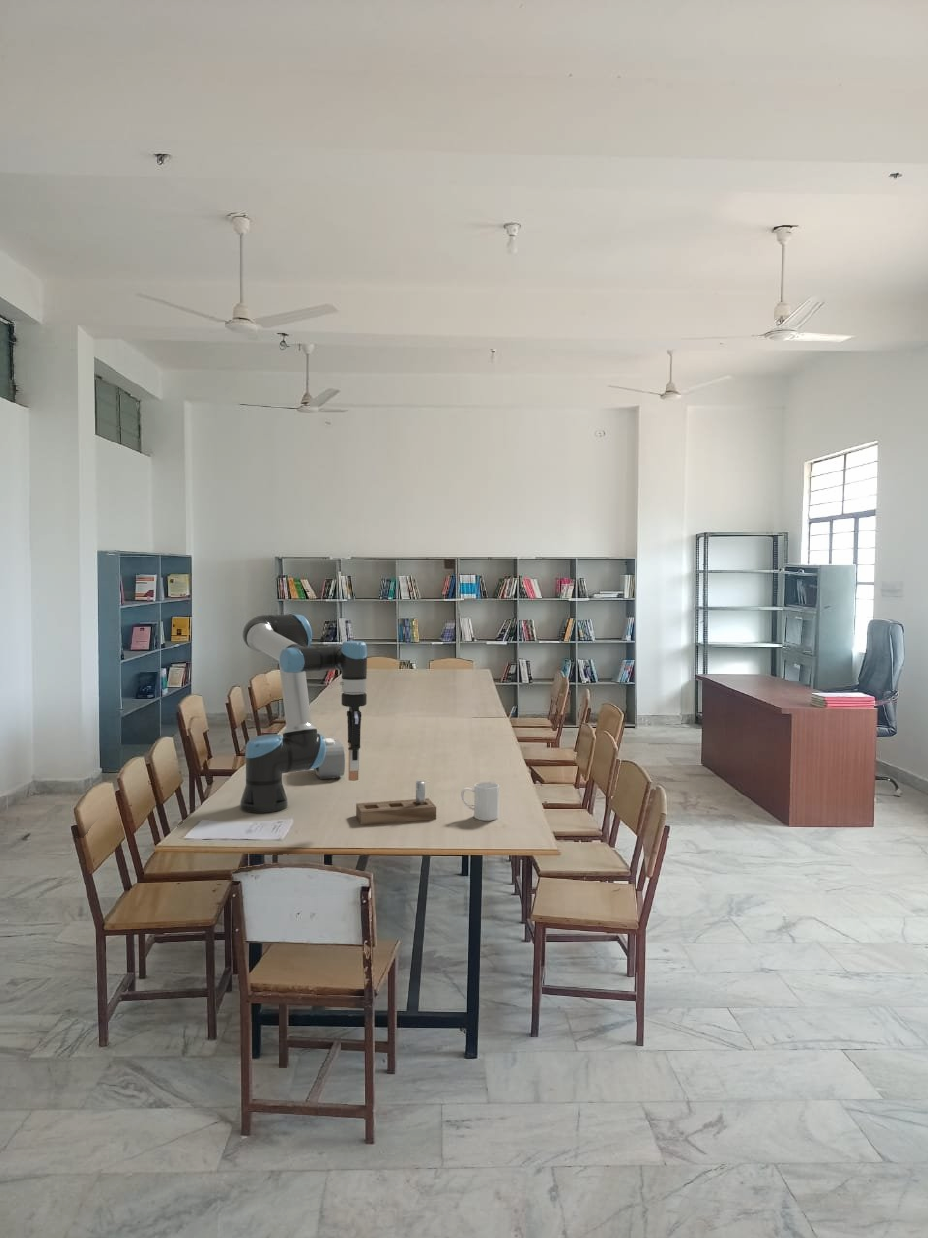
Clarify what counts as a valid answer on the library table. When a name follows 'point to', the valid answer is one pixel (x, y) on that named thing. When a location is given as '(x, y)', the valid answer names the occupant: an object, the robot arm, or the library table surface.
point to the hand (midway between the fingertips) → (353, 769)
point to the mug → (485, 801)
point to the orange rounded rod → (352, 774)
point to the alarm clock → (332, 760)
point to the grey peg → (420, 793)
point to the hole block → (394, 811)
